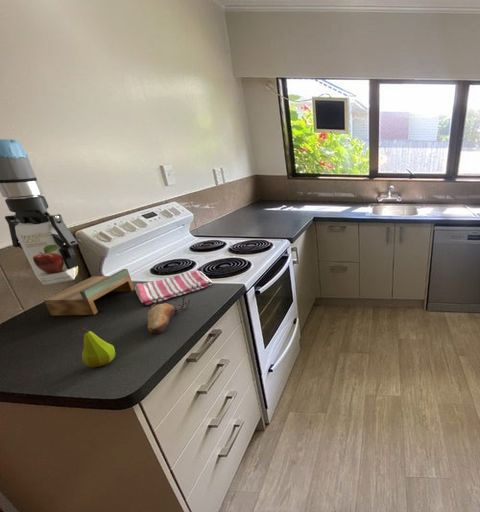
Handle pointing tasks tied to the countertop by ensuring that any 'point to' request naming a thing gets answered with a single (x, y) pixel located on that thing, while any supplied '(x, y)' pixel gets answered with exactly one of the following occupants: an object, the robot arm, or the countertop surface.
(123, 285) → the shelf
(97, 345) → the fruit
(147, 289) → the dish towel
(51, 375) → the countertop surface
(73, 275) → the juice carton
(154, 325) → the vegetable
